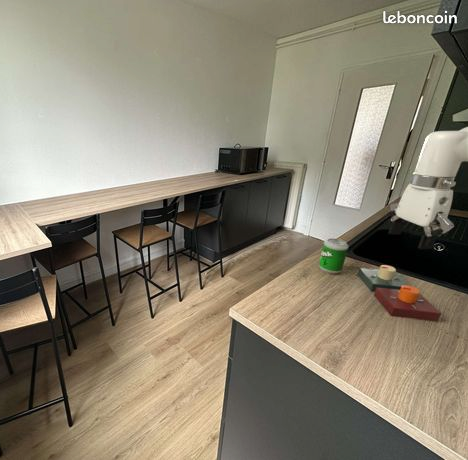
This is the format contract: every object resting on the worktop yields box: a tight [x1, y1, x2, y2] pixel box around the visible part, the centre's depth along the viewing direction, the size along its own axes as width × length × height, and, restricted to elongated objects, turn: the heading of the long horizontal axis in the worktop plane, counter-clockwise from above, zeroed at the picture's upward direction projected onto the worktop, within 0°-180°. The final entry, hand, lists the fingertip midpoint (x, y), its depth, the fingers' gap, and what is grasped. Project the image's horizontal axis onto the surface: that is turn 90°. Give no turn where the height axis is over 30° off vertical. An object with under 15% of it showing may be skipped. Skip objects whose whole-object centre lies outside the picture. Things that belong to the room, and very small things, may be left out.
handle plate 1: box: [357, 267, 412, 293], centre depth 86 cm, size 11×10×3 cm
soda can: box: [318, 237, 349, 275], centre depth 94 cm, size 8×8×12 cm
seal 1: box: [377, 264, 397, 280], centre depth 85 cm, size 4×4×4 cm
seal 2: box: [398, 285, 421, 303], centre depth 74 cm, size 4×4×4 cm
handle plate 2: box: [373, 288, 442, 323], centre depth 75 cm, size 11×10×3 cm
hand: (408, 240), depth 72 cm, fingers open, 9 cm apart
